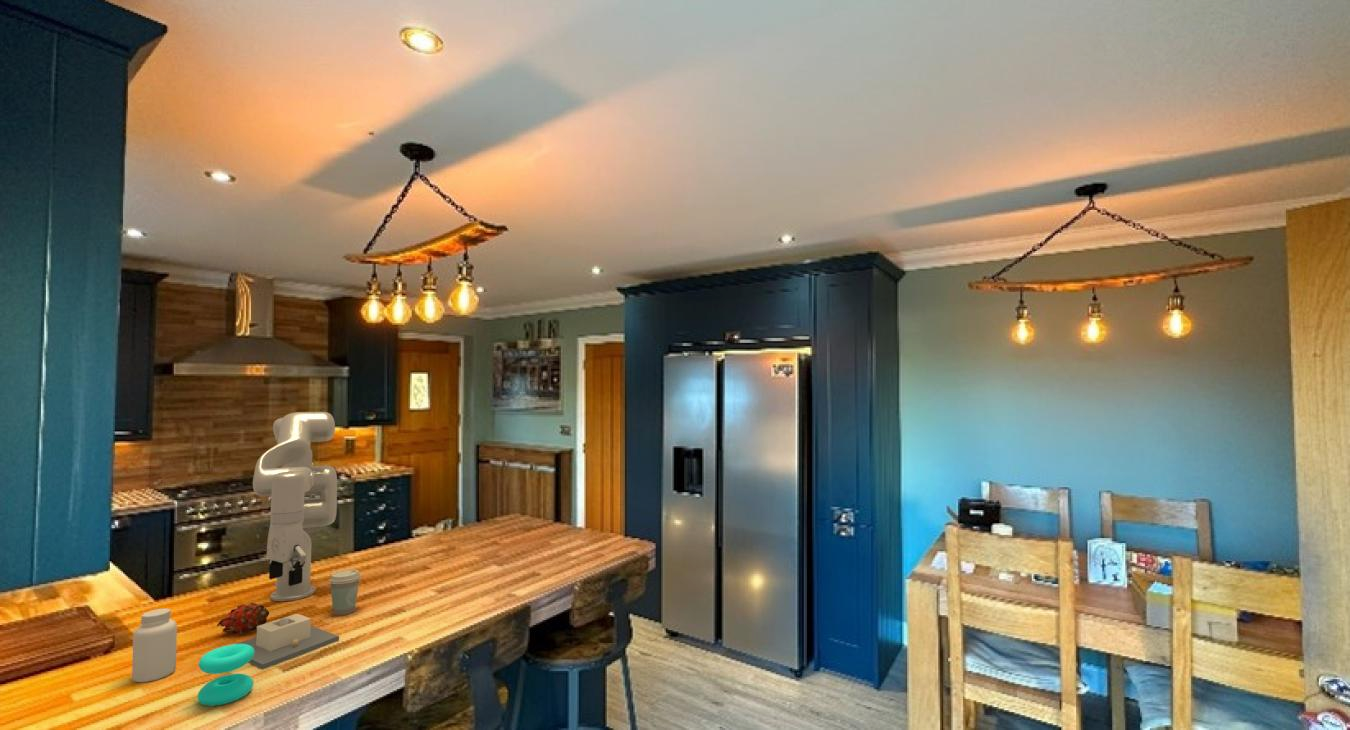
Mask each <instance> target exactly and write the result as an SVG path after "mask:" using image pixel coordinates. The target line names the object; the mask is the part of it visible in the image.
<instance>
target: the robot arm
mask: <svg viewBox="0 0 1350 730" xmlns="http://www.w3.org/2000/svg"><path fill="white" fill-rule="evenodd" d="M272 425H273V426H272V431H273V436H274V438H275V440H276V443H277V444H275V445H274V446H272V447H271V448H269V449H267V450H266V452H264V453H263V454H261V456H260V457H259V458H258V459H257V462H256V464H255V468H254V472H253V477H252V488H253V491H254V493H255V494H256V495H258V496H262V497H267V496H271V500H270V525H269V529H268V536H267V545H266V558H268V564H269V568H268V570H269V571H268V579H269V580H273V579H276V581H275V582H274V586H276V587H275V588H276V590H275V591H273V592H272V593H270V595H269V596H270V600H271V601H273V602H291V601H296V600H301V599H305V598H307V597H310V596H312V595H314V594H315V593H316V587H315V586H314V585H311V568H312V566H311V565H312V538H311V537H310V535H309V533H307V532H306V531H305V530H304V529H307V528H315V527H316V528H317V527H325V526H330V525H332V524H333V523H334V522H335V520H336V518H337V510H338V508H337V507H338V506H337V505H338V504H337V503H338V499H337V498H338V476H337V472H336V468H334V467H333V466H330V465H315V466H313V451H312V449H311V444H312V443H314V442H328V441H331V440H332V439H333V437H334V436H335V432H336V431H335V430H336V426H335V425H336V423H335V419H334V417H333V415H332V414H331V413H330V412H326V411H299V412H297V411H295V412H290V413H288V414H285V416H283V417H279V418H278V419H275V420H274V422H273V424H272ZM309 495H310V496H311V495H319V496H321V497H316V498H305V496H309Z"/></svg>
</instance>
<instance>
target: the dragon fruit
mask: <svg viewBox="0 0 1350 730" xmlns="http://www.w3.org/2000/svg"><path fill="white" fill-rule="evenodd" d="M269 615H270V611H269V610H268V609H267V608H266V607H265V606H264V605H262V604H257V603H255V602H249V604H239V605H237V606H236V608H233V609H231V610H230V612H229V613H228V614H227V615H225V616H224V618H221V619H220V620H219V622H218V623H217V625H216V627H217V628H218V627H219V626H221V627H224V628H223V629H222V632H223V633H226V634H230V633H231V634H233V633H234V634H240V635H241V636H243V635H245V634H246V633H247V632H248V631H249V632H251V633H252V632H255V631H257V626H259V625H263V624H266V623H268V617H269Z"/></svg>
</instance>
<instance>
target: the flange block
mask: <svg viewBox="0 0 1350 730" xmlns="http://www.w3.org/2000/svg"><path fill="white" fill-rule="evenodd" d="M283 618H288V619H289V622H288V624H287V625H283V626H280V620H281V619H283ZM311 619H312V618H310V617H307V616H305V615H303V614H298V613H295V614H292V615H289V616H285V617H282V618H279V619H275V620H272V621H270V622H266V623H265V624H263V625H259V626H257V627H256V628H257V629H256V637H257V640H256V645H257V646H259V647H261V648H263V649H266V650H268V651H273V650H276V649H278V648H281V647H284V646H287V645H290V644H292V643H293V640H295V639H298V641H301V640H304V639H306V638H309V637H310V628H311V626H312V625H311V623H312V622H311V621H312V620H311Z"/></svg>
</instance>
